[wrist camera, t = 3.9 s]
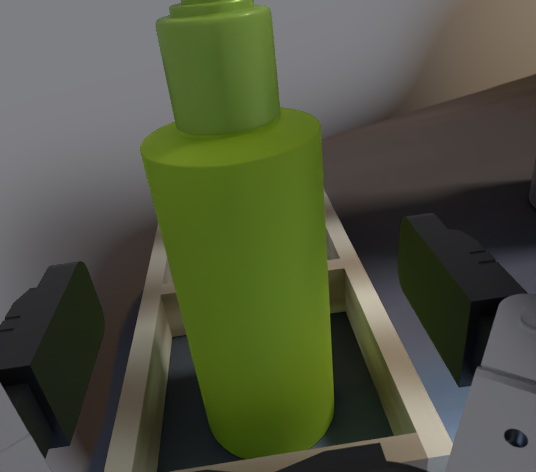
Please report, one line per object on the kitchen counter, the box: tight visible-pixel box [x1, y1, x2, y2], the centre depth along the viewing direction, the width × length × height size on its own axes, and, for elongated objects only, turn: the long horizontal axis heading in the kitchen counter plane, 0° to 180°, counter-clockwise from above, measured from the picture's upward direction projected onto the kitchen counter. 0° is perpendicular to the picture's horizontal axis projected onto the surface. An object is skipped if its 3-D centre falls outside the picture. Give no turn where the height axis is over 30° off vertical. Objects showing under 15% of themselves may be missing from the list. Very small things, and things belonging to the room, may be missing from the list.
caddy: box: [104, 191, 453, 472], centre depth 27 cm, size 24×12×3 cm, turn 6°
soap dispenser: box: [140, 0, 334, 459], centre depth 17 cm, size 6×7×20 cm
